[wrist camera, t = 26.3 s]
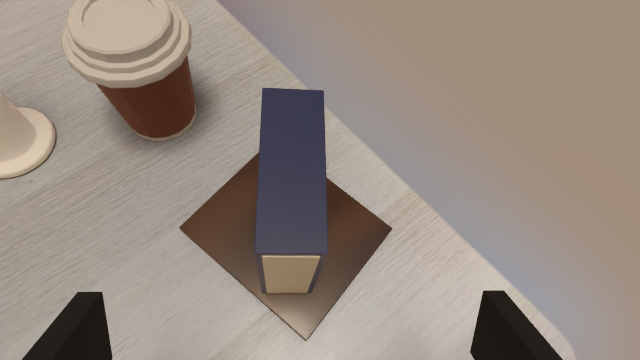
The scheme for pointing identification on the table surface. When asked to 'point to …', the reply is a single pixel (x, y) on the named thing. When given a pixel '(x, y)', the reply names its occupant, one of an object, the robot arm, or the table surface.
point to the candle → (23, 139)
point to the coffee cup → (135, 61)
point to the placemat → (239, 237)
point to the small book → (291, 191)
